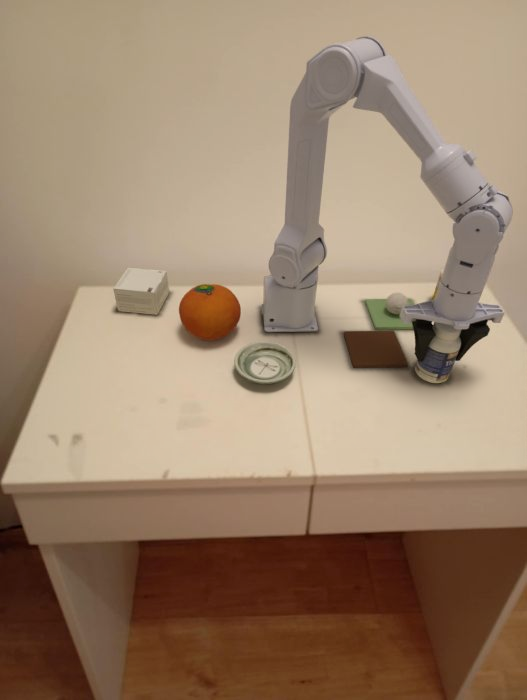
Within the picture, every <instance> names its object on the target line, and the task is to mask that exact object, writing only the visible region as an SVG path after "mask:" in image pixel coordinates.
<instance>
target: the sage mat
mask: <svg viewBox="0 0 527 700" xmlns="http://www.w3.org/2000/svg"><path fill="white" fill-rule="evenodd" d="M386 300H387V298H365V300H364V303H365V305H366V309H367V310H368V313H369V316H370V318H371V321H372V324H373V326H374V329H375V331H396V330H398V331H399V330H414V329H413V325H412V321H411V322H410V324H403V322H402V321H401V318H400V314H392V313H390V312H389V311H388V310H387V308H386ZM407 300H408V305H414V304H415V303H414V302H413V300H412V299H411V298H407Z"/></svg>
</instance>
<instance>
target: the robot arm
mask: <svg viewBox="0 0 527 700" xmlns="http://www.w3.org/2000/svg"><path fill="white" fill-rule="evenodd" d="M305 67H306V68H305V73H304V75H303V76H302V79H301V80H300V81H299V82H300V83H299V84H298V86H297V88H296V90H295V91H294V93H293V96H292V98H291V101H290V107H289V124H288V125H289V126H288V145H287V146H288V147H287V148H288V149H287V164H286V166H287V168H286V186H285V187H286V189H285V206H284V207H285V208H284V224H283V227H282V228H281V230H280V232H279V233H278V235H277V237H276V239H275V241H274V243H273V252H272V254H271V256H270V257H269V259H268V270H269V273H270V274H268V275H264V276H263V291H262V292H263V293H262V296H263V297H262V304H261V315H263V326H264V327H263V329H264V331H265V332H267V333H289V332H290V333H291V332H292V333H293V332H294V333H296V332H317V331H318V330H319V326H318V322H317V317H316V313H315V309H316V299H317V290H318V280H319V266H320V265H321V264H323V263H324V262H325V261H326V258H327V255H328V247H327V244H326V242H325V237H324V236H325V228H324V227H323V226H322V225H321V224H320V213H321V202H322V193H323V182H324V174H325V163H326V153H327V142H328V132H329V123H330V122H329V121H330V118H331V117H332V116H333V115H334V114H335V113H336V112H338V111H339V110H340V109H341V108H342V107H344V106H345V105H346V104H347V103H348V102H349V101H350V100H353V99H355V98H356V99H355V101H354V103H353V105H352V108H353V109H356V110H357V109H358V110H362V111H367V112H368V111H369V112H375V113H379V114H381V115H382V116H383V117H384V118H385V119H386V121H387V122H388V123H389V124H390V126H391V127H392V128H393V129H394V130H395V131H396V133H397V134H398V135H399V136H400V137H401V139H402V140H403V142H404V143H405V144H406V145H407V146H408V147H409V148H410V150H411V151H412V152H413V153H414V154H415V156H416V157H417V158H418V159H419V160H420V162H421V168H420V176H419V177H420V179H421V181H422V182H423V183H424V185H425V186H426V187H427V189H428V190H429V192H430V193H431V194H432V196H433V197H434V198H435V199H436V201H437V202H438V204H439V205H440V207H441V208H442V209H443V211H444V212H445V213H446V214H447V216H448V217H449V218H450V219H451V220H452V221H453V222H454V223H453V224H452V235H453V238H454V240H453V244H452V247H450V249H449V252H448V255H447V259H446V262H445V265H444V267H445V268H444V267H443V268H444V271H443V274H442V278H441V280H440V284H439V287H438V290H437V293H436V297H435V300H432V299H431V300H427V301H423V302H419V303H413V304H414V305H408V306H402V309H401V313H400V318H401V321H402V322H403V324H410V322H411V321H412V325H413V329H412V330H413V333H414V355H415V357H416V361H417V360H418V361H423V360H424V358H425V355H426V352H427V349H428V346H429V344H430V343H431V341H432V339H433V338H434V337H435V336H436V334H435V332H434V330H433V328H432V327H433V323H434V322H438V323H443V324H449V325H453V327H454V328H455V329H461V332H460V335H459V337H460V339H461V346H460V349H459V352H458V354H457V357H456V360H455V362H460V361H461V360H462V358H464V356H465V355H466V354H467V353H468V351H469V350H470V349H471V348H472V347H473V346H475V344H477V343H478V342H479V341H481V340H482V339H484V338H485V337H488V335H489V334H490V331H491V329H490V326H489V325H488V322H489V321H491V322H492V323H493V324H501V322H502V320H503V318H504V315H505V313H506V312H505V311H504V310H503V308H502V307H501V306H500V304H489V303H483V302H480V299H481V297H482V294H483V292H484V289H485V287H486V285H487V282H488V279H489V276H490V274H491V271H492V268H493V266H494V263H495V260H496V254H497V253H498V250H499V248H500V244H501V242H502V241H503V239H504V234H505V233H506V232H507V231H506V230H508V227H509V226H510V224H511V221H512V218H513V214H514V209H513V206H512V203H511V201H510V197H509V195H508V194H506V193H505V192H503V191H501V190H499V189H498V188H497V186H496V184H492V185H491V184H490V183H489V182H488V180H487V179H486V178H485V176H484V175H483V173H482V172H481V170H480V169H479V168H478V166H477V165H476V163H475V161H476V160H477V158H478V157H477V155H476V154H475V152H474V151H473V149H469V150H468V151H466V149H465V148H464V146H463V145H462V144H458V143H457V144H456V143H451V142H450V143H449V142H446V140H445V139H444V138H443V136H442V134H441V133H440V132H439V130H438V128H437V126H436V125H435V124H434V122H433V120H432V119H431V117H430V116H429V114H428V113H427V112H426V110H425V108H424V106H423V105H422V103H421V102H420V100H419V98H418V97H417V95H416V94H415V92H414V91H413V89H412V88H411V86H410V85H409V83H408V81H407V80H406V78H405V77H404V75H403V72H402V70H401V68H400V66H399V64H398V62H397V60H396V59H395V58H394V57H393V56H392V55H391V54H387V51H386V48H385V47H384V45H383V44H382V42H381V41H380V40H378V38H376V37H374V36H368V35H364V36H359V37H357V38H356V39H352V40H349V41H344V42H338V43H337V42H336V43H331V44H328V45H325V46H324V47H323V48H322V49H321V50H319V51H318V52H317V53H315V54H314V55H313V56H312V57H311V58H309V59H308V60H307V61H306V66H305Z"/></svg>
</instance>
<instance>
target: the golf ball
mask: <svg viewBox="0 0 527 700" xmlns="http://www.w3.org/2000/svg"><path fill="white" fill-rule="evenodd" d="M386 299H387V300H386V308H387V310H388V311H389V312H390V313H392V314H400V313H401V309H402V306H408V300H407V299H408V298H407V297H406V296H405V294H403V293H401V292H393V293H390V294H389V295H388V296H387V298H386Z"/></svg>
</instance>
